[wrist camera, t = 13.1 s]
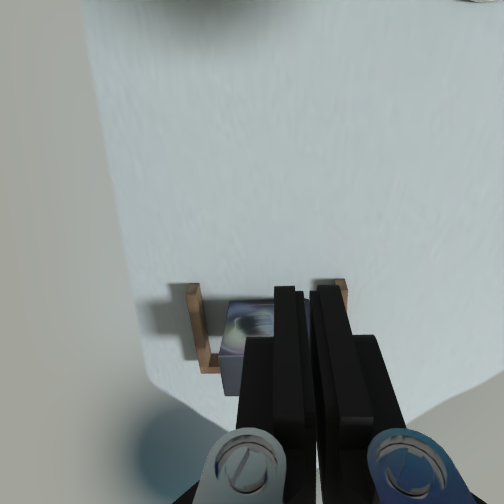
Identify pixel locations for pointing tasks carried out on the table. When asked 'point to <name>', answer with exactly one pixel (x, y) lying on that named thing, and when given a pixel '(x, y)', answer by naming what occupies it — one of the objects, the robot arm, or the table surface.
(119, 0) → the table surface
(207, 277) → the table surface
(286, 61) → the table surface
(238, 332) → the small box
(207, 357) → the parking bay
